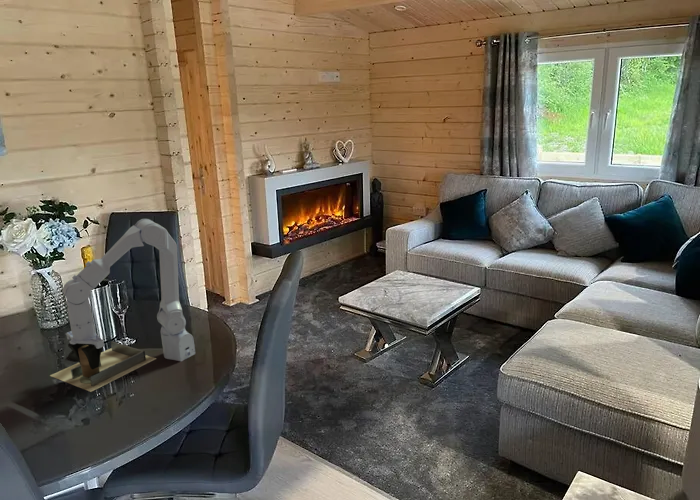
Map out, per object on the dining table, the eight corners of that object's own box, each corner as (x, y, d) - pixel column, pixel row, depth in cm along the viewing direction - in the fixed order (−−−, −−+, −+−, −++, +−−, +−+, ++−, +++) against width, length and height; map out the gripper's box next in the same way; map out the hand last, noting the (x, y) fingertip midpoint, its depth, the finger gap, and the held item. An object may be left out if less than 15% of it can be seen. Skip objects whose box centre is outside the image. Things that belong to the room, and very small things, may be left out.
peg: (103, 371, 151) (98, 346, 149) (88, 378, 147) (84, 352, 145) (93, 368, 153) (89, 343, 151) (79, 375, 149) (74, 349, 147)
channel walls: (146, 360, 160) (144, 351, 159) (92, 386, 145) (90, 376, 145) (113, 349, 168) (112, 341, 167) (60, 374, 153) (58, 364, 153)
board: (157, 361, 161) (156, 357, 161) (91, 395, 143) (90, 390, 143) (116, 348, 171) (115, 345, 171) (50, 378, 153) (49, 374, 153)
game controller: (83, 362, 161) (69, 349, 161) (75, 372, 163) (61, 359, 163) (104, 348, 170) (91, 336, 170) (96, 358, 172) (83, 345, 172)
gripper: (52, 322, 146) (61, 366, 150) (83, 331, 139) (92, 377, 142) (76, 313, 152) (84, 356, 156) (107, 322, 145) (115, 366, 148)
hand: (89, 365), depth 149 cm, fingers closed on peg, 4 cm apart
